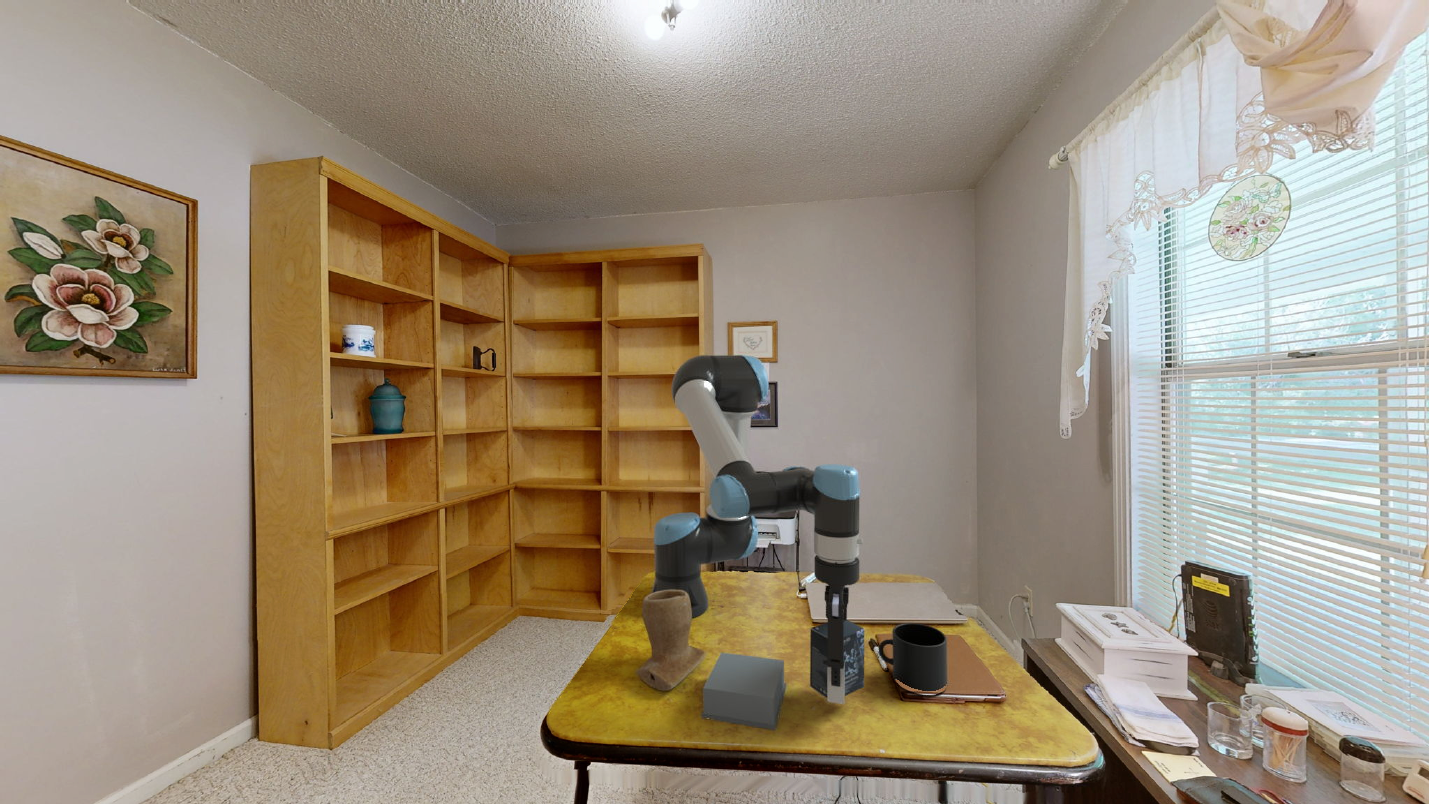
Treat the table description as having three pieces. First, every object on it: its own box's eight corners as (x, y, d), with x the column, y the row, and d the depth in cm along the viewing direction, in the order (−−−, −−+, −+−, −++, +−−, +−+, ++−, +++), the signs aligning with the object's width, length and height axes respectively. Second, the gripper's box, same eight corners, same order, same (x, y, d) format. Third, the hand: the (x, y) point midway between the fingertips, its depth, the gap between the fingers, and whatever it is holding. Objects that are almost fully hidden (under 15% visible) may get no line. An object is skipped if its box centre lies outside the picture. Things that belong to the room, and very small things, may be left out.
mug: (881, 661, 102) (881, 617, 102) (947, 674, 97) (946, 627, 97) (875, 686, 93) (875, 638, 93) (947, 702, 88) (946, 651, 88)
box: (833, 704, 83) (833, 640, 82) (809, 687, 88) (808, 627, 87) (865, 687, 87) (865, 627, 87) (840, 672, 92) (840, 615, 92)
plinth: (720, 677, 97) (720, 651, 97) (786, 686, 94) (785, 659, 94) (701, 717, 85) (700, 688, 85) (775, 730, 82) (775, 699, 82)
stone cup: (665, 646, 109) (664, 578, 109) (713, 660, 104) (711, 587, 103) (619, 682, 96) (618, 604, 96) (671, 700, 90) (670, 617, 90)
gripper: (859, 582, 75) (860, 730, 76) (859, 538, 96) (859, 654, 97) (808, 577, 77) (809, 721, 78) (819, 535, 98) (819, 649, 99)
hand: (837, 684), depth 87 cm, fingers closed on box, 9 cm apart
